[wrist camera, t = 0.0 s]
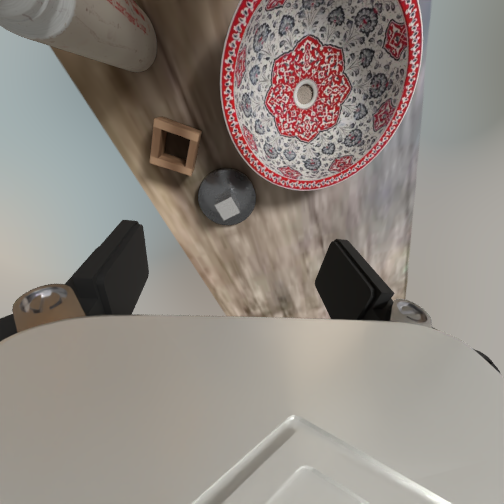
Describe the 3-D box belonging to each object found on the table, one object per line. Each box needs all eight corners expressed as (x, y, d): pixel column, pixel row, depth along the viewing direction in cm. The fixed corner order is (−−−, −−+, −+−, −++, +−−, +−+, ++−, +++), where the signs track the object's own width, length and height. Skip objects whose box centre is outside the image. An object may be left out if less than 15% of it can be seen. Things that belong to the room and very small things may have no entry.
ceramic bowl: (415, -35, 32) (465, -71, 25) (363, 174, 48) (385, 186, 41) (209, -36, 30) (205, -75, 23) (228, 182, 46) (229, 195, 39)
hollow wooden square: (157, 157, 42) (149, 163, 38) (161, 116, 39) (154, 118, 34) (194, 168, 44) (190, 175, 40) (201, 131, 40) (199, 134, 36)
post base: (187, 185, 45) (182, 196, 40) (239, 157, 43) (241, 164, 38) (217, 230, 52) (216, 245, 47) (263, 207, 50) (268, 220, 45)
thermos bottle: (138, -12, 30) (-146, -378, 7) (167, 62, 35) (49, -16, 12) (85, 10, 31) (-331, -263, 8) (120, 79, 35) (-79, 38, 12)
